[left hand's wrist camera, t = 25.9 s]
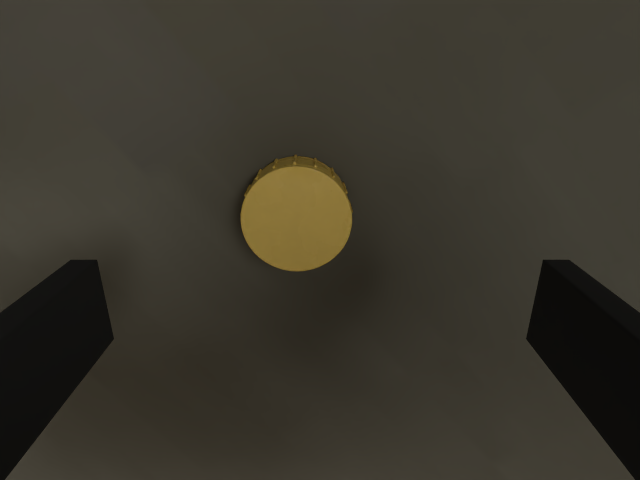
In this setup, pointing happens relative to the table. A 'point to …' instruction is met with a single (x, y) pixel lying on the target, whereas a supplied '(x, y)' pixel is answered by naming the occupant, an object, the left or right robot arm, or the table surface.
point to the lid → (296, 214)
